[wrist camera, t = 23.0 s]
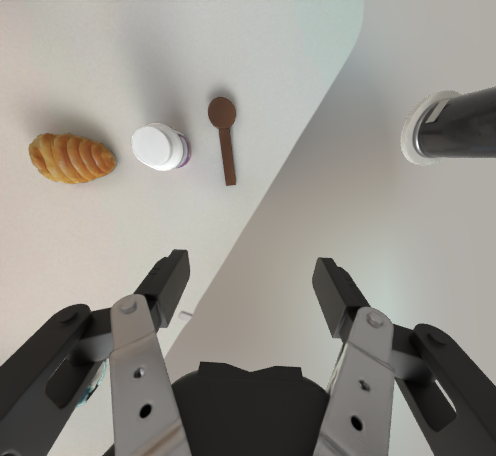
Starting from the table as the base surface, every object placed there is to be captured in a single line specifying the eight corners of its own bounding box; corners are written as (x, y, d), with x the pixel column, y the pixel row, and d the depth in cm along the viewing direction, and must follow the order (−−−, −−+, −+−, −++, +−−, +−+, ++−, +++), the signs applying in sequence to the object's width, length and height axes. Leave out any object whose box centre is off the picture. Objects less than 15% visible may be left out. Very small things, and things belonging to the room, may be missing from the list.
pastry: (111, 133, 27) (94, 130, 24) (124, 180, 30) (110, 183, 26) (41, 135, 27) (13, 132, 23) (60, 183, 29) (37, 187, 26)
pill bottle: (149, 152, 29) (113, 150, 20) (168, 121, 28) (139, 104, 19) (180, 174, 30) (160, 182, 21) (199, 147, 29) (186, 142, 20)
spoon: (233, 97, 27) (234, 95, 27) (242, 183, 32) (243, 184, 31) (206, 100, 27) (205, 98, 26) (219, 186, 32) (219, 186, 31)
